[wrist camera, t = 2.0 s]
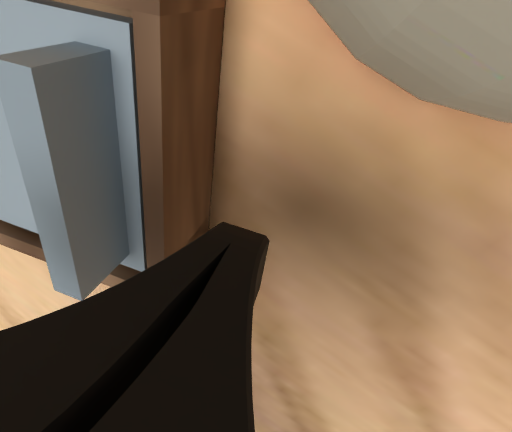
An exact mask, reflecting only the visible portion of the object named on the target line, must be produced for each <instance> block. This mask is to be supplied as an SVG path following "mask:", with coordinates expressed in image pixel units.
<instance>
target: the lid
mask: <svg viewBox="0 0 512 432" xmlns="http://www.w3.org/2000/svg"><path fill="white" fill-rule="evenodd" d="M0 220H2V221H5V222H8V223H10V224H13V225H16V226H19V227H21V228H24V229H27V230H29V231H32V232H35V233H38V234H39V237H40V241H41V244H42V248H43V251H44V255H45V258H46V262H47V266H48V269H49V273H50V276H51V280H52V283H53V287H54V290H55V291H58V292H60V293H63V294H65V295H68V296H70V297H73V298H75V299H78V300H80V301H82V300H84V299H85V298H86V297H87V296H88V295H89V294H90V293H91V292H92V291H93V290H94V289H95V288H96V287H97V286H98V285H99V284H100V283H101V282H102V281H103V280H104V279H105V278H106V277H107V276H108V275H109V274H110V273H111V272H112V271H113V270H114V269H115V268H116V267H117V266H118V265H119V264H122V265H124V266H127V267H130V268H133V269H135V270H138V271H141V272H142V271H144V270H146V269H147V259H146V241H145V224H144V207H143V190H142V172H141V155H140V138H139V121H138V103H137V86H136V69H135V52H134V34H133V18H130V17H126V16H121V15H116V14H112V13H107V12H102V11H98V10H93V9H89V8H84V7H79V6H75V5H70V4H66V3H61V2H56V1H52V0H0Z"/></svg>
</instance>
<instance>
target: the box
mask: <svg viewBox="0 0 512 432" xmlns="http://www.w3.org/2000/svg"><path fill="white" fill-rule="evenodd" d="M52 1H56V2H61V3H66V4H70V5H75V6H79V7H84V8H89V9H93V10H98V11H102V12H107V13H112V14H116V15H121V16H126V17H130V18H133V34H134V52H135V69H136V86H137V103H138V121H139V138H140V155H141V172H142V190H143V207H144V224H145V241H146V259H147V268H149V267H151V266H153V265H155V264H156V263H158V262H160V261H162V260H163V259H165V258H167V257H168V256H170V255H172V254H173V253H175V252H176V251H178V250H180V249H181V248H183V247H185V246H186V245H188V244H189V243H191V242H192V241H194V240H196V239H197V238H199V237H200V236H202V235H203V234H205V233H206V232H208V229H209V216H210V202H211V189H212V175H213V162H214V148H215V135H216V121H217V108H218V94H219V81H220V67H221V54H222V40H223V27H224V13H225V0H52ZM0 244H1V245H4V246H6V247H9V248H11V249H14V250H17V251H19V252H22V253H24V254H27V255H30V256H32V257H35V258H37V259H40V260H43V261H45V262H46V258H45V255H44V251H43V248H42V244H41V241H40V237H39V234H38V233H35V232H32V231H29V230H27V229H24V228H21V227H19V226H16V225H13V224H10V223H8V222H5V221H2V220H0ZM140 272H141V271H138V270H135V269H133V268H130V267H127V266H124V265H122V264H119V265H118V266H117V267H116V268H115V269H114V270H113V271H112V272H111V273H110V274H109V275H108V276H107V277H106V278H105V279H104V280H103V281H102V282H101V283H102V284H105V285H108V286H110V287H113V286H115V285H117V284H119V283H121V282H123V281H125V280H127V279H129V278H131V277H133V276H134V275H136V274H138V273H140Z"/></svg>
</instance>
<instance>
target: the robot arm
mask: <svg viewBox="0 0 512 432" xmlns="http://www.w3.org/2000/svg"><path fill="white" fill-rule="evenodd" d="M268 245H269V239H268V238H267V236H265V235H262V234H259V233H256V232H253V231H250V230H247V229H244V228H241V227H238V226H234V225H231V224H228V223H225V222H222V223H220V224H218V225H217V226H215V227H214V228H212V229H211V230H209V231H208V232H206V233H205V234H203V235H202V236H200V237H199V238H197V239H196V240H194V241H192V242H191V243H189V244H188V245H186V246H185V247H183V248H181V249H180V250H178V251H176V252H175V253H173V254H172V255H170V256H168V257H167V258H165V259H163V260H162V261H160V262H158V263H156V264H155V265H153V266H151V267H149V268H147V269H146V270H144V271H142V272H140V273H138V274H136V275H134V276H133V277H131V278H129V279H127V280H125V281H123V282H121V283H119V284H117V285H115V286H113V287H111V288H109V289H107V290H105V291H103V292H100V293H98V294H96V295H94V296H91V297H89V298H87V299H85V300H82V301H80V302H78V303H75V304H73V305H70V306H68V307H65V308H63V309H60V310H57V311H55V312H52V313H50V314H47V315H44V316H42V317H39V318H36V319H34V320H31V321H28V322H26V323H23V324H20V325H17V326H14V327H11V328H8V329H5V330H2V331H0V432H255V428H254V414H253V400H252V373H251V338H252V316H253V306H254V302H255V299H256V297H257V294H258V291H259V288H260V284H261V279H262V274H263V269H264V264H265V259H266V255H267V250H268Z"/></svg>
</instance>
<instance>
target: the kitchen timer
mask: <svg viewBox="0 0 512 432" xmlns="http://www.w3.org/2000/svg"><path fill="white" fill-rule="evenodd" d="M308 1H309V2H310V3H311V5H312V6H313V7H314V8H315V9H316V11H317V12H318V13H319V14H320V16H321V17H322V18H323V19H324V20H325V22H326V23H327V24H328V25H329V27H330V28H331V29H332V30H333V31H334V33H335V34H336V35H337V36H338V38H339V39H340V40H341V41H342V42H343V44H344V45H345V46H346V47H347V49H348V50H349V51H350V52H351V53H352V55H353V56H354V57H355V58H356V59H357V60H359V61H360V62H362V63H363V64H365V65H366V66H368V67H370V68H371V69H373V70H374V71H376V72H377V73H379V74H381V75H382V76H384V77H385V78H387V79H388V80H390V81H391V82H393V83H395V84H396V85H398V86H399V87H401V88H402V89H404V90H405V91H407V92H409V93H410V94H412V95H413V96H415V97H416V98H418V99H420V100H423V101H427V102H431V103H434V104H438V105H442V106H445V107H449V108H453V109H456V110H460V111H464V112H467V113H471V114H475V115H478V116H482V117H486V118H489V119H493V120H497V121H502V122H507V123H512V0H308Z"/></svg>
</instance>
